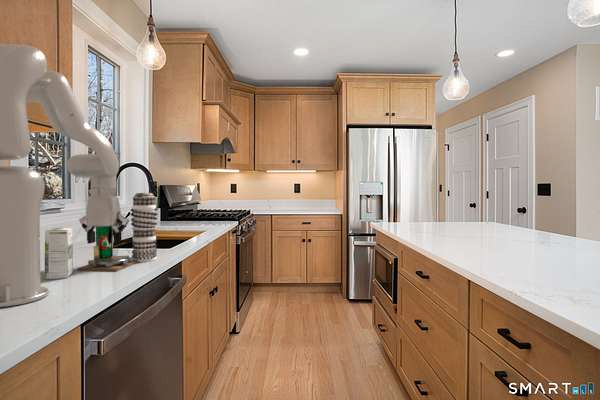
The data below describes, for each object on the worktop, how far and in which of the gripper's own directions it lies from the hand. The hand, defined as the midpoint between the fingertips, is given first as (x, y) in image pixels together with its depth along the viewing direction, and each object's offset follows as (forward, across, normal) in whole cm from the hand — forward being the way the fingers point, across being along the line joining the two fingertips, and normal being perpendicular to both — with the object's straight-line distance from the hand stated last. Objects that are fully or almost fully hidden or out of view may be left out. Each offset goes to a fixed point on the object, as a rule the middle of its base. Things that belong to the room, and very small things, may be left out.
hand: (104, 243), depth 115 cm
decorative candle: (+8, +9, +10) cm, 16 cm away
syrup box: (+8, -4, -16) cm, 18 cm away
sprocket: (+7, +3, -1) cm, 7 cm away
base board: (+8, +3, -2) cm, 8 cm away
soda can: (+5, 0, 0) cm, 5 cm away
